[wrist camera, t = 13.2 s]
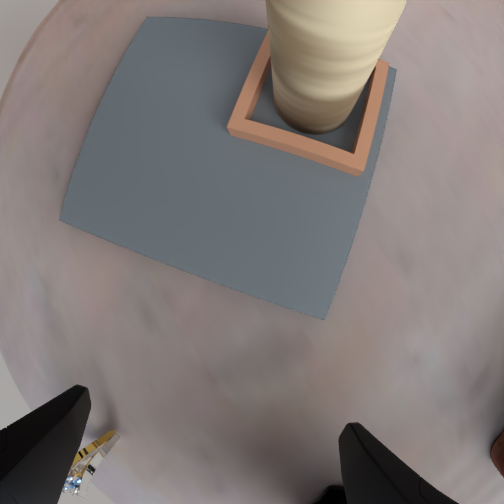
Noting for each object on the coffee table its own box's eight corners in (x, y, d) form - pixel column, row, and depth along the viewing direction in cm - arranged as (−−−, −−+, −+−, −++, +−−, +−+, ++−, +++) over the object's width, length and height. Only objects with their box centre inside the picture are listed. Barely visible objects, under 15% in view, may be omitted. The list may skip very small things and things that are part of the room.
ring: (115, 406, 21) (62, 458, 13) (144, 433, 21) (100, 492, 13) (83, 438, 22) (36, 482, 14) (107, 461, 21) (67, 510, 13)
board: (392, 75, 18) (403, 59, 16) (322, 316, 19) (327, 326, 17) (151, 23, 20) (140, 6, 17) (66, 220, 21) (46, 219, 18)
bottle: (365, 101, 17) (437, -27, 5) (318, 150, 18) (367, 23, 6) (307, 57, 18) (320, -87, 5) (257, 101, 18) (226, -46, 6)
